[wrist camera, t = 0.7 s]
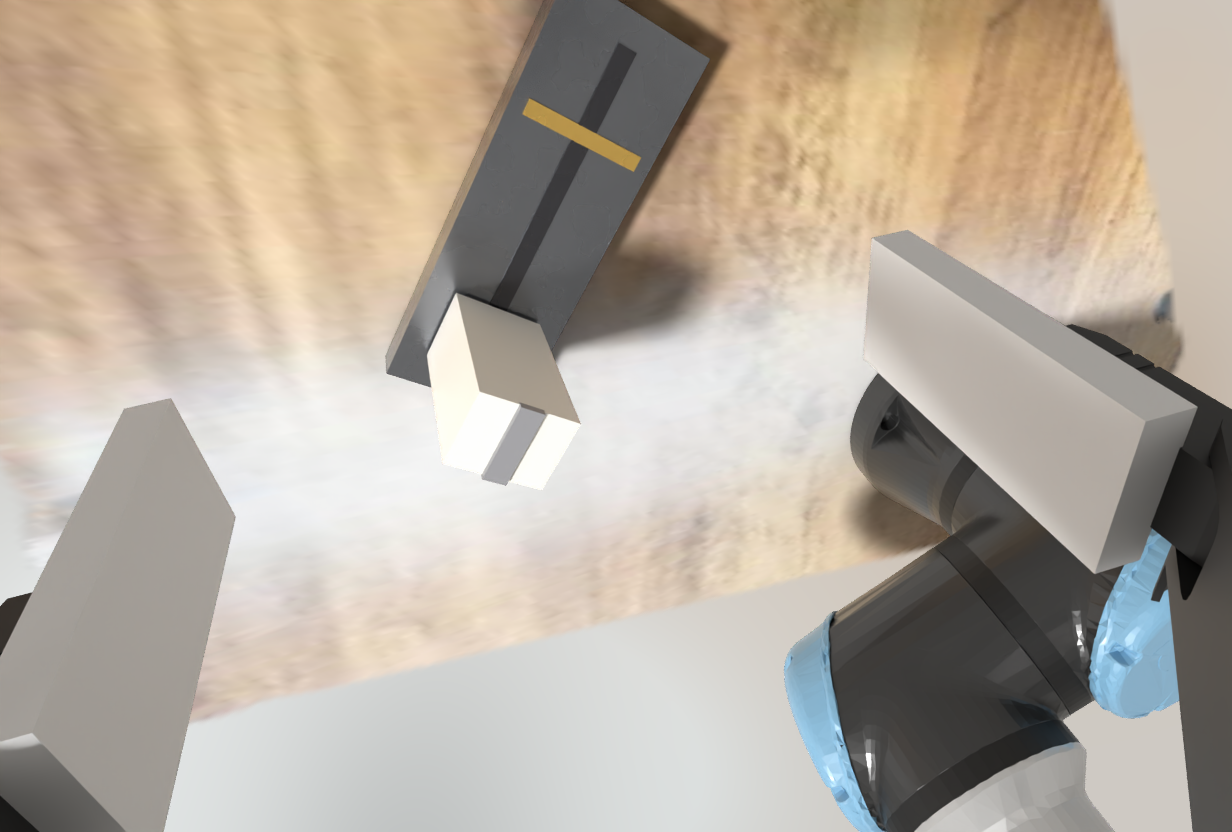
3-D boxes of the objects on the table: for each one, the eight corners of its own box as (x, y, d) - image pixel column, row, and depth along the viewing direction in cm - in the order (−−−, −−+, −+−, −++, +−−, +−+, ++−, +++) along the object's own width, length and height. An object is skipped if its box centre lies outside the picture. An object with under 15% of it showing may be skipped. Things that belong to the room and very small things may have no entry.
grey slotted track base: (511, 396, 48) (517, 415, 46) (385, 355, 44) (386, 374, 42) (696, 52, 40) (711, 59, 38) (559, -35, 36) (569, -31, 34)
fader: (509, 383, 45) (542, 494, 36) (426, 355, 42) (442, 468, 34) (540, 323, 43) (582, 426, 35) (456, 291, 41) (480, 394, 33)
